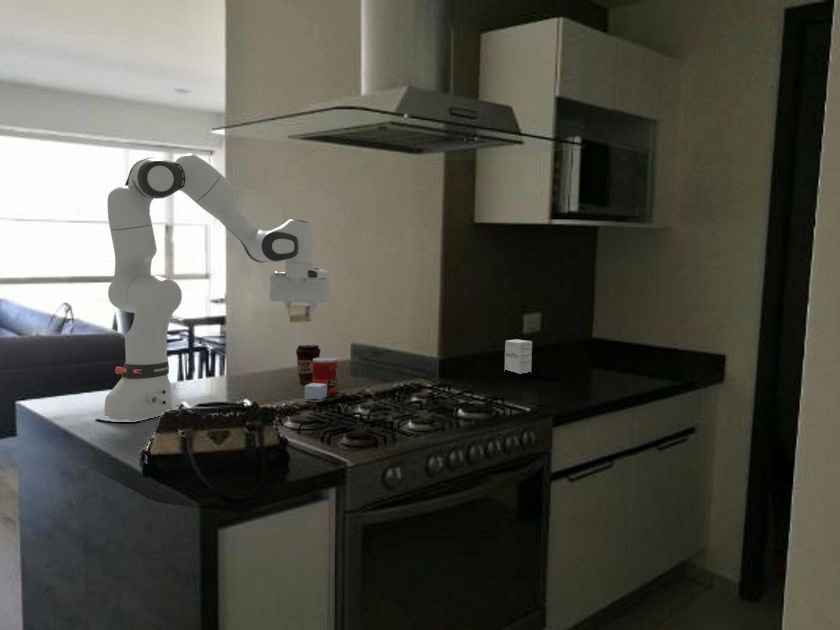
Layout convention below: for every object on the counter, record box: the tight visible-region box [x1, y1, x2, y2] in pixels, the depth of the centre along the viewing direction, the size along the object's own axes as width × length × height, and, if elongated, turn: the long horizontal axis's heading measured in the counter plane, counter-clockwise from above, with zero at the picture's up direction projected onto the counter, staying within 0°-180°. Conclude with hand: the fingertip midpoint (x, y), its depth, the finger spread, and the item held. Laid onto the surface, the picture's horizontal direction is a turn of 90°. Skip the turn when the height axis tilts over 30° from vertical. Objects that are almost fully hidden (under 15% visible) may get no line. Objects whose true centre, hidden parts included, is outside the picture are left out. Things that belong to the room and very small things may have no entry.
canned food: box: [313, 356, 338, 395], centre depth 244 cm, size 8×8×11 cm
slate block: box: [304, 383, 328, 400], centre depth 231 cm, size 5×5×5 cm
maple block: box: [289, 304, 312, 323], centre depth 236 cm, size 5×5×5 cm
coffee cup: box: [295, 344, 321, 384], centre depth 261 cm, size 9×8×13 cm
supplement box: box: [504, 338, 533, 374], centre depth 280 cm, size 7×7×13 cm
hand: (300, 316), depth 236 cm, fingers closed on maple block, 5 cm apart
